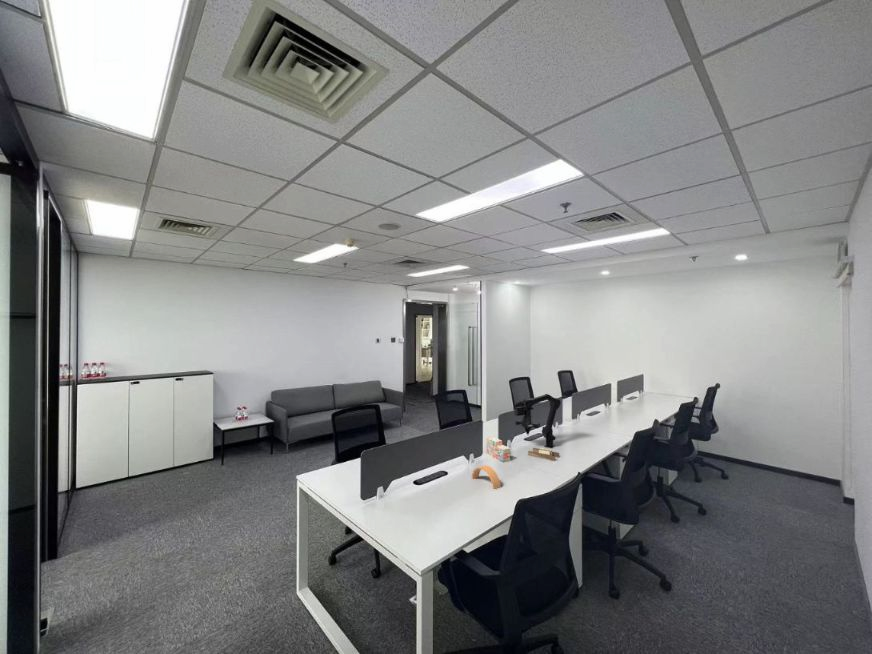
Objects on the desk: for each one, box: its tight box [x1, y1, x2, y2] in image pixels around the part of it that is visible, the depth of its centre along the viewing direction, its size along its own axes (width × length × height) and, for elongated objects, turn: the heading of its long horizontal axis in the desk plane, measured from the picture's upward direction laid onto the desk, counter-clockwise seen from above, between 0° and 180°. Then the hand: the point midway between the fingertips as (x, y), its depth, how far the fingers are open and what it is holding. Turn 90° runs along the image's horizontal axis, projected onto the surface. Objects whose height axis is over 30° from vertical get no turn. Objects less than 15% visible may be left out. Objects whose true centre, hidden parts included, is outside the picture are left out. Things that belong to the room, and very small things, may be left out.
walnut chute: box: [527, 447, 560, 462], centre depth 260 cm, size 10×20×3 cm, turn 52°
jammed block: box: [539, 447, 553, 455], centre depth 259 cm, size 6×8×4 cm
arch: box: [471, 464, 502, 490], centre depth 215 cm, size 6×20×10 cm, turn 35°
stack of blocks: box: [485, 436, 511, 463], centre depth 259 cm, size 21×6×12 cm, turn 26°
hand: (527, 434), depth 277 cm, fingers closed
